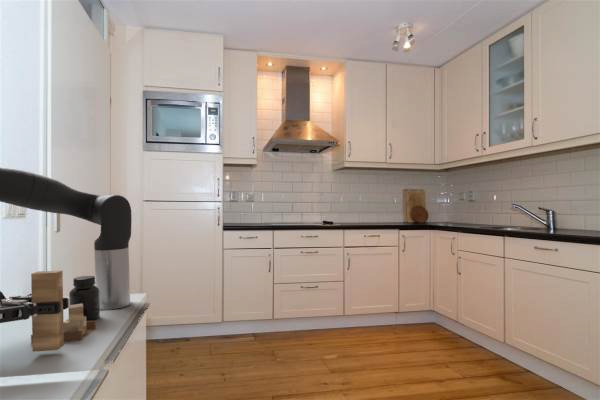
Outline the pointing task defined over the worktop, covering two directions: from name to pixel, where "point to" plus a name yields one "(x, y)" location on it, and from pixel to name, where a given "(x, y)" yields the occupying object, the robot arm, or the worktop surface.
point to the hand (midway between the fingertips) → (63, 305)
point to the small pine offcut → (75, 312)
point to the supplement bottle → (86, 297)
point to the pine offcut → (75, 325)
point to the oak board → (47, 325)
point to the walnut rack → (78, 332)
